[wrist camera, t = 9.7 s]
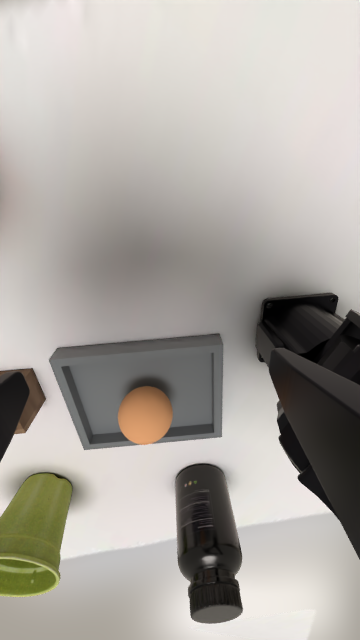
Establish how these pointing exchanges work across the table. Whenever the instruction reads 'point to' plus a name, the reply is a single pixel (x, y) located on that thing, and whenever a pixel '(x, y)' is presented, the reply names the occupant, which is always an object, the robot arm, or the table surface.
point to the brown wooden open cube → (29, 400)
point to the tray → (137, 371)
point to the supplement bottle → (208, 544)
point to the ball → (145, 415)
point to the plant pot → (33, 536)
